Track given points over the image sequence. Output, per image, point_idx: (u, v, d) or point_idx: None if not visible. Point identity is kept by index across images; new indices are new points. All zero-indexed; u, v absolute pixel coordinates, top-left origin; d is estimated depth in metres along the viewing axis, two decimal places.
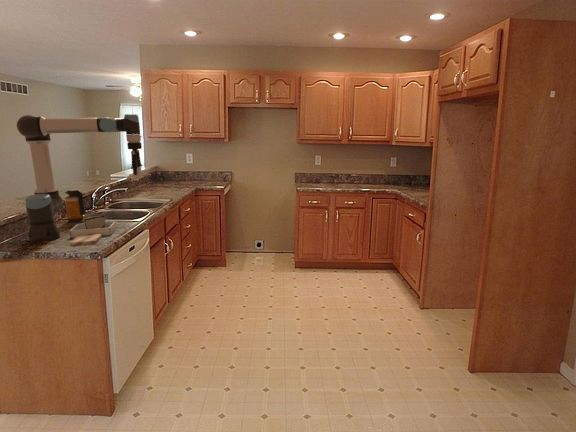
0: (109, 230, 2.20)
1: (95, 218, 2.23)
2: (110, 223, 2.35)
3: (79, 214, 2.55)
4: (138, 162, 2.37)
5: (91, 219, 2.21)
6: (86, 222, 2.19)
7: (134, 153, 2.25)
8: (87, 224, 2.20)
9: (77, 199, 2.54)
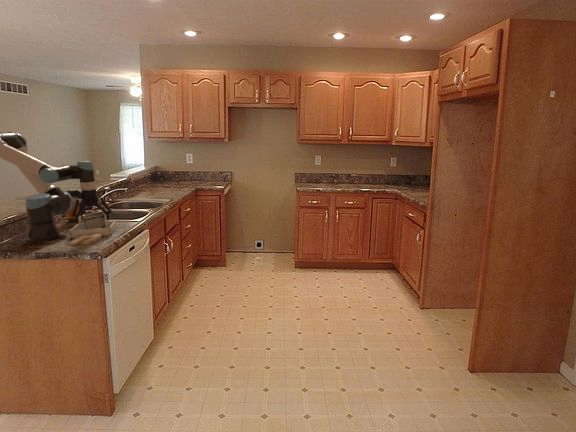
0: (109, 230, 2.20)
1: (95, 218, 2.23)
2: (110, 223, 2.35)
3: None
4: None
5: (91, 219, 2.21)
6: (86, 222, 2.19)
7: None
8: (87, 224, 2.20)
9: None
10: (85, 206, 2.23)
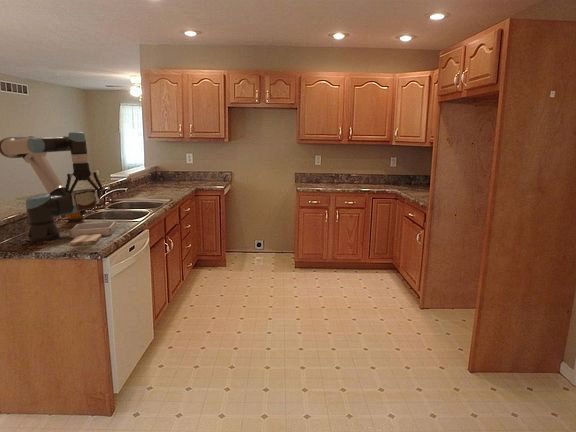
0: (109, 230, 2.20)
1: (85, 193, 2.10)
2: (110, 223, 2.35)
3: (79, 214, 2.55)
4: None
5: (81, 193, 2.08)
6: (76, 196, 2.06)
7: None
8: (77, 198, 2.07)
9: None
10: (77, 181, 2.10)
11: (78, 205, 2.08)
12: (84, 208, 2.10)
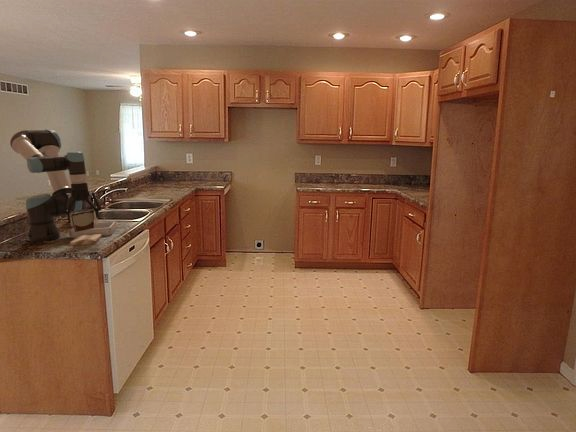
0: (109, 230, 2.20)
1: (83, 213, 2.05)
2: (110, 223, 2.35)
3: None
4: None
5: (79, 214, 2.03)
6: (73, 218, 2.01)
7: None
8: (75, 219, 2.02)
9: None
10: (76, 201, 2.05)
11: (76, 226, 2.03)
12: (82, 229, 2.05)
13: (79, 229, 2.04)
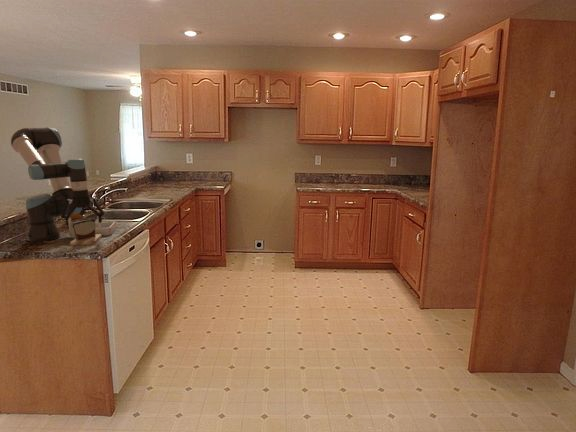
0: (109, 230, 2.20)
1: (85, 222, 2.06)
2: (110, 223, 2.35)
3: (79, 214, 2.55)
4: None
5: (80, 223, 2.04)
6: (75, 227, 2.02)
7: None
8: (76, 228, 2.03)
9: None
10: (76, 207, 2.06)
11: (77, 235, 2.04)
12: (83, 238, 2.06)
13: (81, 238, 2.05)
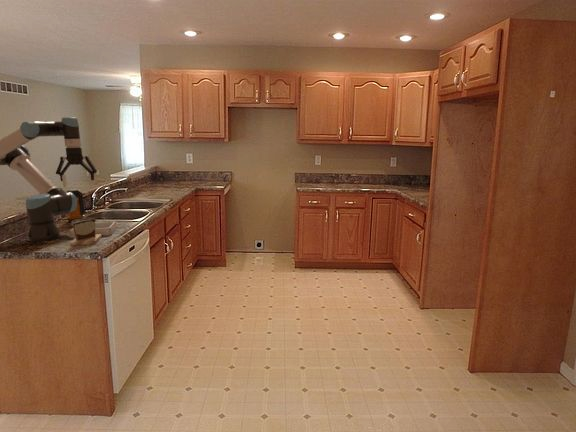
0: (109, 230, 2.20)
1: (85, 222, 2.06)
2: (110, 223, 2.35)
3: (79, 214, 2.55)
4: None
5: (80, 223, 2.04)
6: (75, 227, 2.02)
7: None
8: (76, 228, 2.03)
9: (77, 199, 2.54)
10: (69, 164, 2.16)
11: (77, 235, 2.04)
12: (83, 238, 2.06)
13: (81, 238, 2.05)
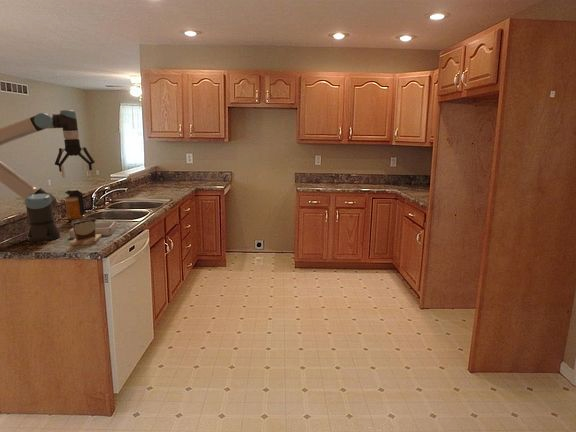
0: (109, 230, 2.20)
1: (85, 222, 2.06)
2: (110, 223, 2.35)
3: (79, 214, 2.55)
4: None
5: (80, 223, 2.04)
6: (75, 227, 2.02)
7: None
8: (76, 228, 2.03)
9: (77, 199, 2.54)
10: (68, 155, 2.26)
11: (77, 235, 2.04)
12: (83, 238, 2.06)
13: (81, 238, 2.05)
